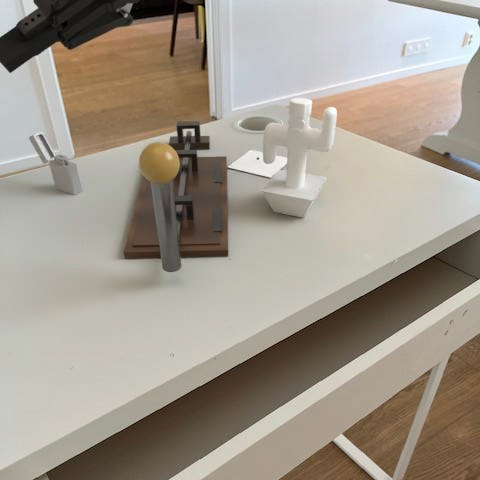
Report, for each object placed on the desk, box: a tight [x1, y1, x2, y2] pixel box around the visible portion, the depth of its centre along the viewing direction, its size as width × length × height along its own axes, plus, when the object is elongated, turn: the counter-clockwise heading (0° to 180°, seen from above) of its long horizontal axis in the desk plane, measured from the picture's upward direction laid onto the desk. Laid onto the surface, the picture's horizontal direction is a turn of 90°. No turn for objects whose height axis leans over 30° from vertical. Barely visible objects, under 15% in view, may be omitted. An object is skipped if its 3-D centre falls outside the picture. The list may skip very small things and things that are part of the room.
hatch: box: [123, 149, 229, 259], centre depth 73 cm, size 28×13×4 cm, turn 1°
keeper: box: [168, 120, 211, 150], centre depth 89 cm, size 3×7×4 cm, turn 91°
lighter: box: [28, 131, 83, 196], centre depth 76 cm, size 7×2×8 cm, turn 59°
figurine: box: [261, 97, 338, 219], centre depth 68 cm, size 7×9×15 cm
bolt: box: [138, 130, 193, 273], centre depth 69 cm, size 42×4×15 cm, turn 1°
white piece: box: [227, 149, 287, 179], centre depth 84 cm, size 8×8×1 cm
